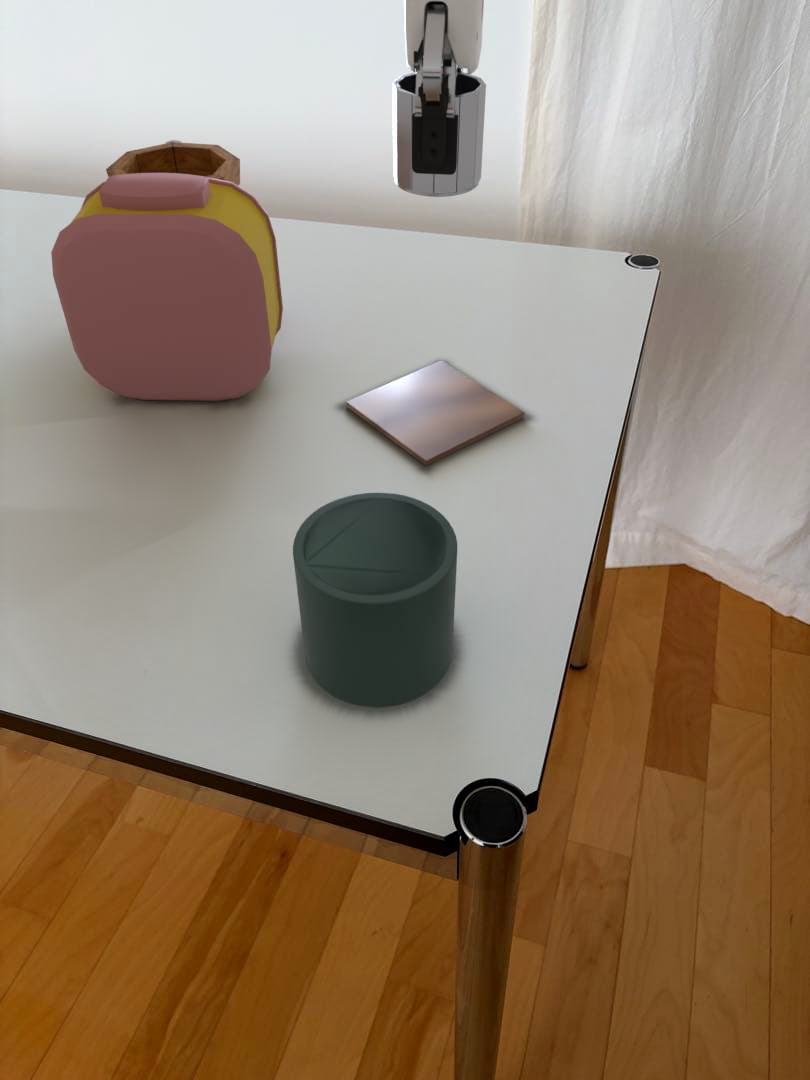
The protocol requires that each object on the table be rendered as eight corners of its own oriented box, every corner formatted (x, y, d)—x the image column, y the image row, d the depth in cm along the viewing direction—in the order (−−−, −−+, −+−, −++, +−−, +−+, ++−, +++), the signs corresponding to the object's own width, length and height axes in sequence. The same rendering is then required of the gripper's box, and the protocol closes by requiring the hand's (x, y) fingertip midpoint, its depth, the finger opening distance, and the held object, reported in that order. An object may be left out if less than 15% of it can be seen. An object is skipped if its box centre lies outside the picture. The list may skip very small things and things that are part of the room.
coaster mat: (524, 417, 84) (524, 412, 84) (426, 466, 79) (426, 461, 79) (441, 365, 91) (441, 359, 91) (345, 406, 86) (345, 401, 85)
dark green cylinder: (483, 656, 63) (491, 552, 56) (364, 734, 58) (358, 630, 51) (391, 575, 69) (389, 472, 62) (276, 639, 64) (261, 535, 57)
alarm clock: (289, 350, 94) (270, 160, 81) (275, 409, 86) (251, 209, 72) (113, 348, 94) (66, 158, 81) (82, 407, 86) (24, 207, 73)
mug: (261, 321, 98) (244, 183, 88) (135, 334, 96) (103, 194, 86) (247, 246, 112) (231, 119, 102) (137, 256, 110) (109, 128, 100)
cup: (497, 182, 70) (503, 85, 65) (432, 204, 67) (434, 103, 62) (441, 159, 73) (444, 65, 69) (377, 178, 70) (375, 81, 66)
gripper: (501, -118, 50) (482, 201, 62) (508, -151, 63) (491, 118, 75) (367, -119, 51) (374, 196, 63) (401, -152, 63) (402, 115, 75)
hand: (438, 152), depth 69 cm, fingers closed on cup, 6 cm apart
